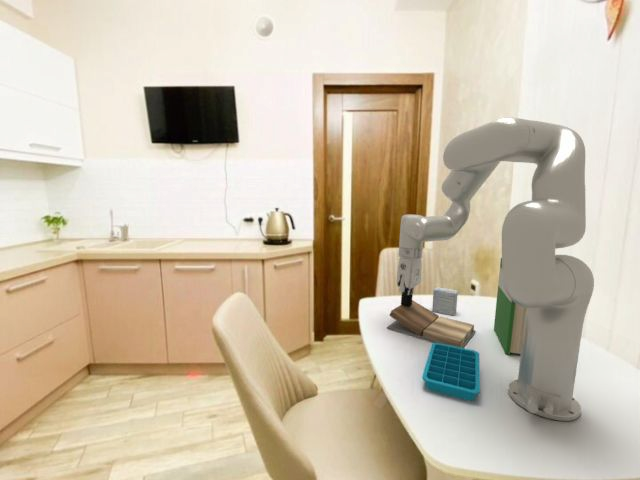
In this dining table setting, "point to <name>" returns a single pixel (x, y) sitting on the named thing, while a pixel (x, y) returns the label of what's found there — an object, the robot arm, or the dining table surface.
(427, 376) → the ice cube tray
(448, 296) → the medicine box
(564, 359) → the robot arm
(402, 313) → the walnut plank
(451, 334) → the oak plank
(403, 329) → the underlay mat
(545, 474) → the dining table surface
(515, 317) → the hardback book
